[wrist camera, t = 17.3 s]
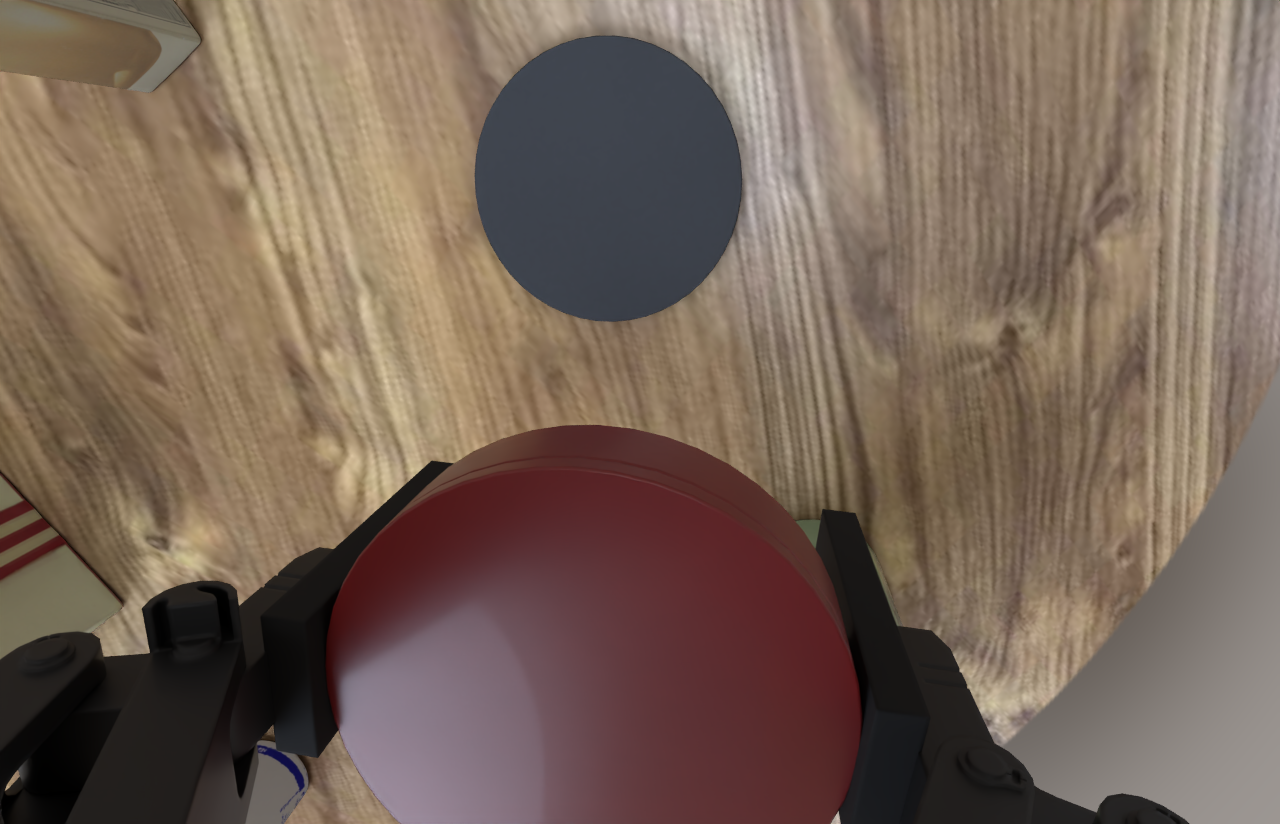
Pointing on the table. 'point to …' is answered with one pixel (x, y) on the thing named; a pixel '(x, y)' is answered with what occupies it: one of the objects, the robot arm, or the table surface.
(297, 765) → the beverage can
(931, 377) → the table surface
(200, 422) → the table surface
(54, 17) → the cosmetic box
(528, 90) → the coaster
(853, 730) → the lid
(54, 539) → the gift box
